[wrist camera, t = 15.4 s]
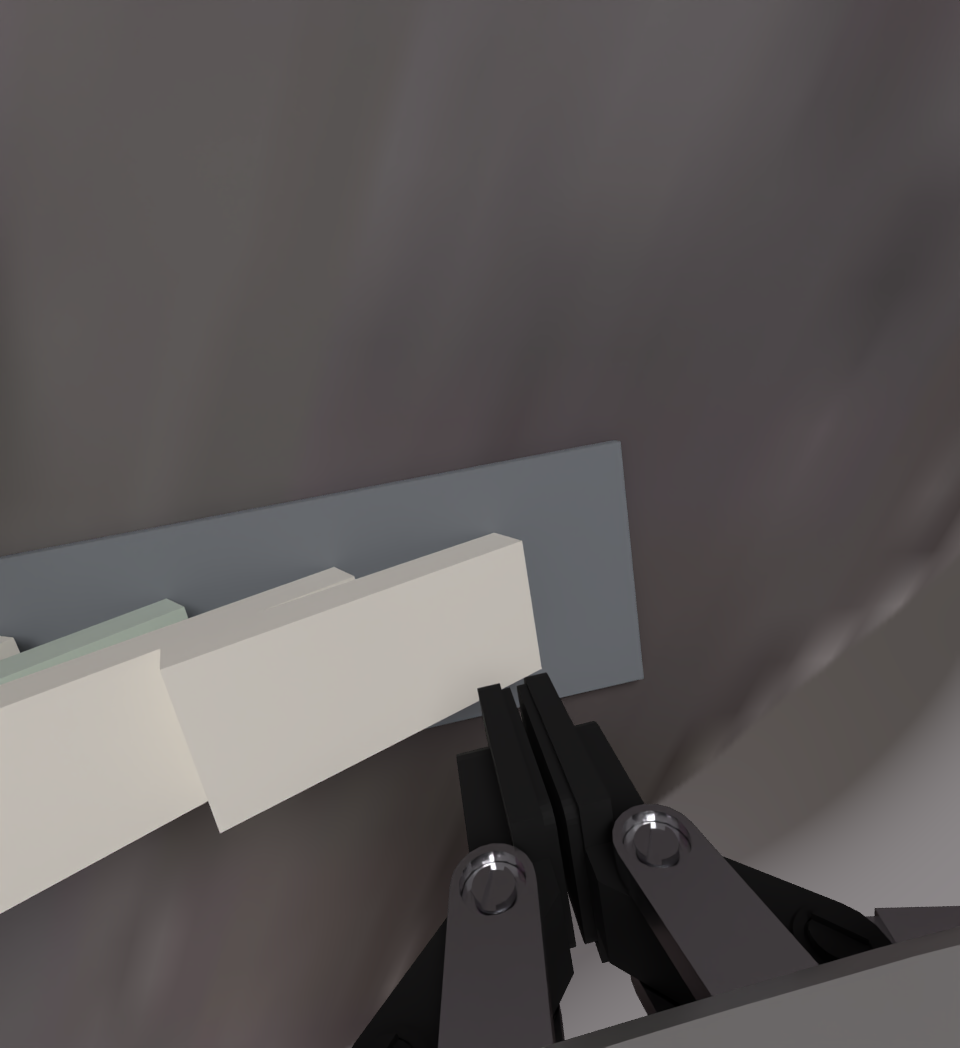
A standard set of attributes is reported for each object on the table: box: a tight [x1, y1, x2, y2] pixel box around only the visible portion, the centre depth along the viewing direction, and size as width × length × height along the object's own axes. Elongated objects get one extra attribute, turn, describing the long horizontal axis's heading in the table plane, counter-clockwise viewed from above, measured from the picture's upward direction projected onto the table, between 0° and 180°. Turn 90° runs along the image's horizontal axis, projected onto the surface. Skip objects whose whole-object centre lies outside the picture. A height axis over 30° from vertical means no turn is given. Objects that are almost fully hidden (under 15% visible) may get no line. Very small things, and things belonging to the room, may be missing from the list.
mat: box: [0, 440, 644, 729], centre depth 19 cm, size 32×10×1 cm, turn 100°
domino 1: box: [0, 567, 355, 914], centre depth 16 cm, size 2×5×11 cm
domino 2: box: [160, 533, 542, 833], centre depth 17 cm, size 2×5×11 cm
